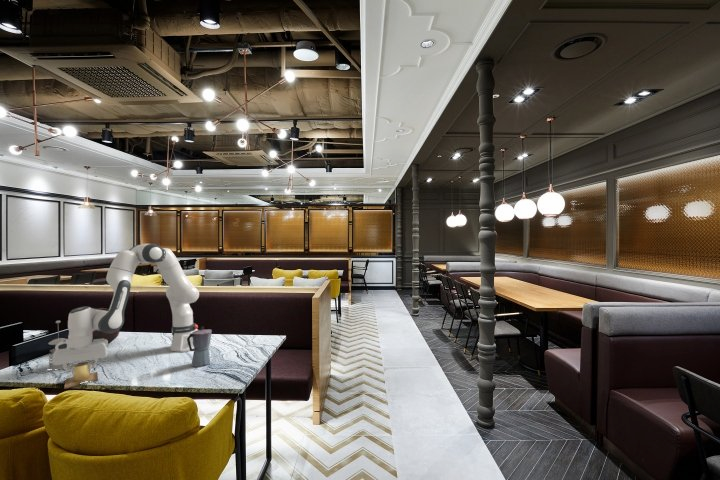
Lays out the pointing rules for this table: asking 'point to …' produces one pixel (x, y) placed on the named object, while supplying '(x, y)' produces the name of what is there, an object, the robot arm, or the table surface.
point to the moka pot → (200, 346)
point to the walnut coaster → (70, 382)
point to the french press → (54, 342)
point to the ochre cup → (81, 371)
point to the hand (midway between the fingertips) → (81, 369)
